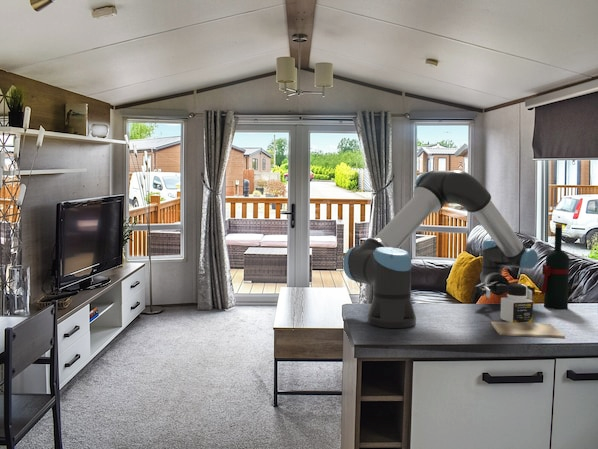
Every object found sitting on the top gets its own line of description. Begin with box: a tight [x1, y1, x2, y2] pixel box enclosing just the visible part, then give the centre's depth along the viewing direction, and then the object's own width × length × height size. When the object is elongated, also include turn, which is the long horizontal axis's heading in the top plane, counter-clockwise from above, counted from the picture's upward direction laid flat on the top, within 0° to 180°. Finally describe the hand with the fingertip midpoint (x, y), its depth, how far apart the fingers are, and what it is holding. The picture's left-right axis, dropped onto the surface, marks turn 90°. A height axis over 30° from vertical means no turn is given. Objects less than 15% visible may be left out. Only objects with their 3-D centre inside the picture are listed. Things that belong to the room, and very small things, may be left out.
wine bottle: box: [539, 223, 570, 311], centre depth 202 cm, size 8×10×30 cm
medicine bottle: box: [499, 282, 534, 323], centre depth 182 cm, size 7×7×12 cm
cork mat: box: [490, 321, 566, 339], centre depth 171 cm, size 18×14×1 cm
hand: (509, 294), depth 192 cm, fingers open, 13 cm apart
